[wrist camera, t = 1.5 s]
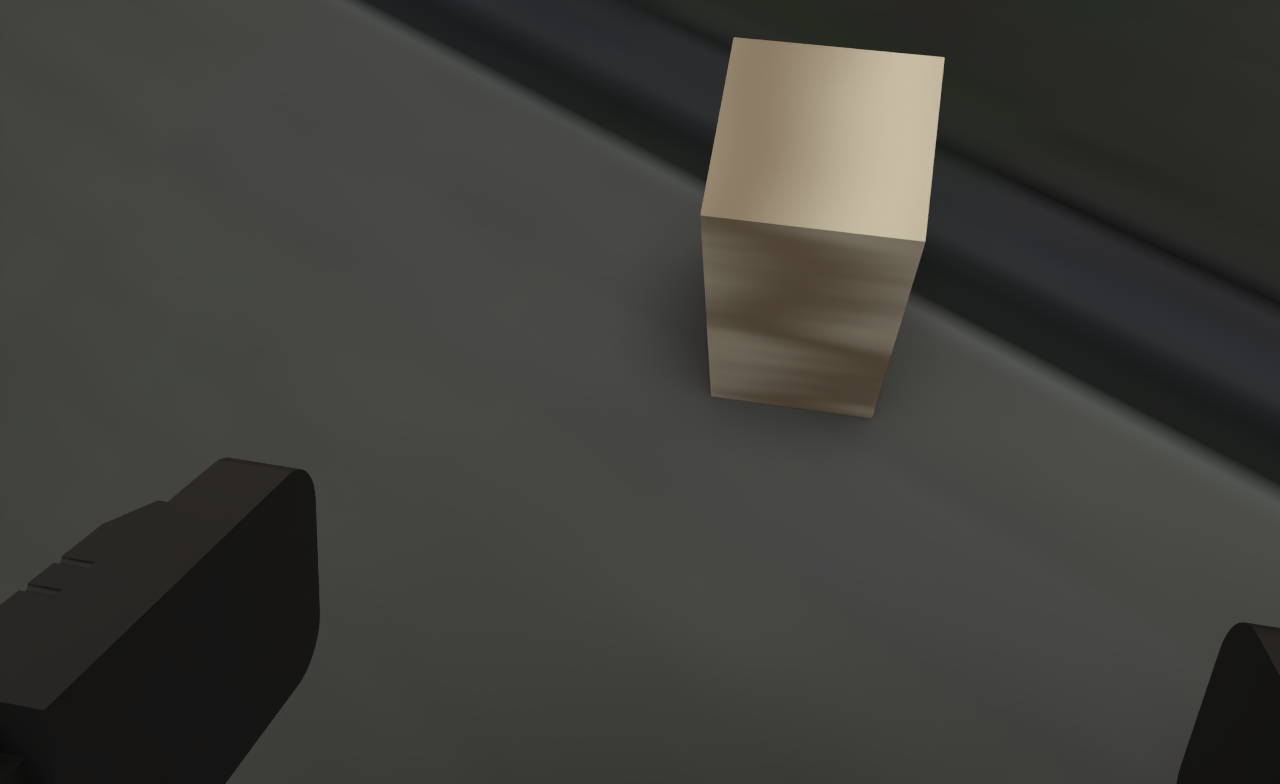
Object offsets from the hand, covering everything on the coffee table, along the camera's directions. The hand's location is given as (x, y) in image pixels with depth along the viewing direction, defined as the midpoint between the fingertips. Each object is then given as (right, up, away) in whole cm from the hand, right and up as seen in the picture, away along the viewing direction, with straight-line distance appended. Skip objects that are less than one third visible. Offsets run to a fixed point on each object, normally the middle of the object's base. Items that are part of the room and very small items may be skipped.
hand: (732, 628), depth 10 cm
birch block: (+4, +4, +23) cm, 24 cm away
